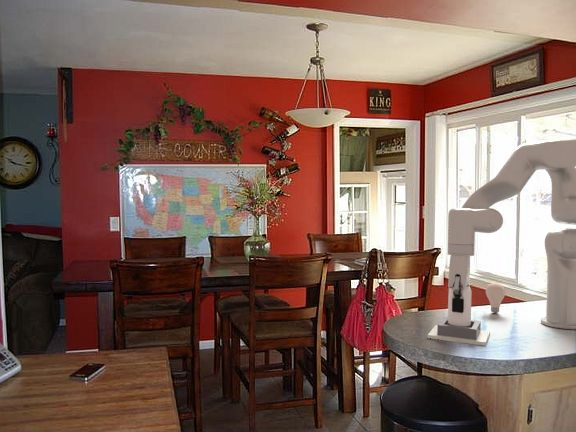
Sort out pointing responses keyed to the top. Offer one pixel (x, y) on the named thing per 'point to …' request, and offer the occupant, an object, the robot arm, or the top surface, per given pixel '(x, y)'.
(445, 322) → the socket board
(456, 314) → the can
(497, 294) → the light bulb
